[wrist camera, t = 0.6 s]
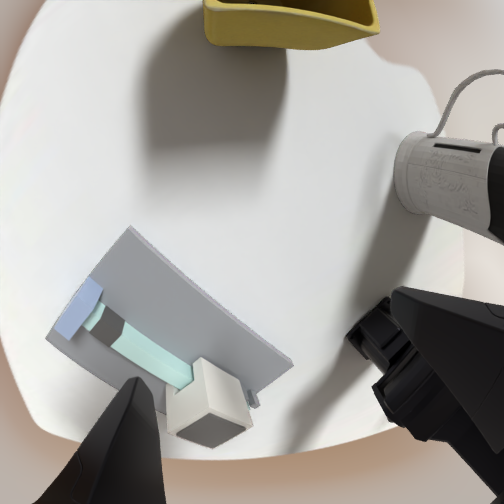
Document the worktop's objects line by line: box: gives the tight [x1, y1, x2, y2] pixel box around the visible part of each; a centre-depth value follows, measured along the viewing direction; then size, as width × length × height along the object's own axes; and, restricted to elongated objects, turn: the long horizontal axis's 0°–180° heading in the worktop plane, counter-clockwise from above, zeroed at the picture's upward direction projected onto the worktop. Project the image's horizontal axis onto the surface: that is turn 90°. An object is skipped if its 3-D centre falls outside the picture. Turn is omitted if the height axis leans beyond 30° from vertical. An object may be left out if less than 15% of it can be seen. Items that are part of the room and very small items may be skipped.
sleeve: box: [166, 357, 254, 449], centre depth 20 cm, size 5×5×6 cm
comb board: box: [45, 225, 294, 415], centre depth 21 cm, size 20×14×4 cm
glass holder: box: [394, 69, 504, 245], centre depth 15 cm, size 9×14×15 cm, turn 19°
